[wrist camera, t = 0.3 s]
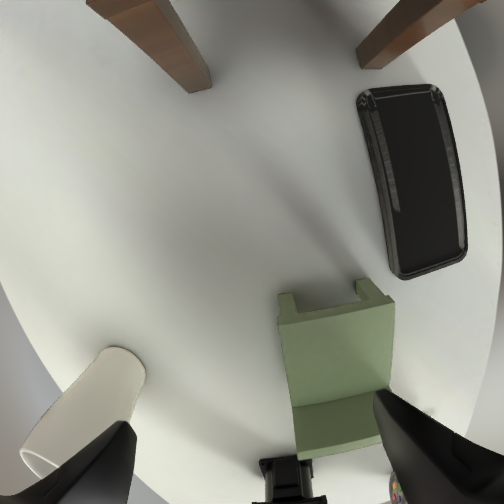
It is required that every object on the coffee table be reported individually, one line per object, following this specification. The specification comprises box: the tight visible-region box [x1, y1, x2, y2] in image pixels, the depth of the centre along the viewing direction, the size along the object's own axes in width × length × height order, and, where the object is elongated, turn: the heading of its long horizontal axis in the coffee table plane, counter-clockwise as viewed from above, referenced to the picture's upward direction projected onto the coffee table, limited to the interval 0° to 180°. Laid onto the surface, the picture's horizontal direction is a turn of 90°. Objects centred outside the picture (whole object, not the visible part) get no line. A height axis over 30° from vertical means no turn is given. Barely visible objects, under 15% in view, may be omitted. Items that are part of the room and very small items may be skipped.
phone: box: [357, 84, 468, 280], centre depth 20 cm, size 8×1×15 cm
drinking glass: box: [20, 347, 146, 479], centre depth 19 cm, size 7×7×15 cm
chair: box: [277, 278, 395, 460], centre depth 20 cm, size 9×8×10 cm
